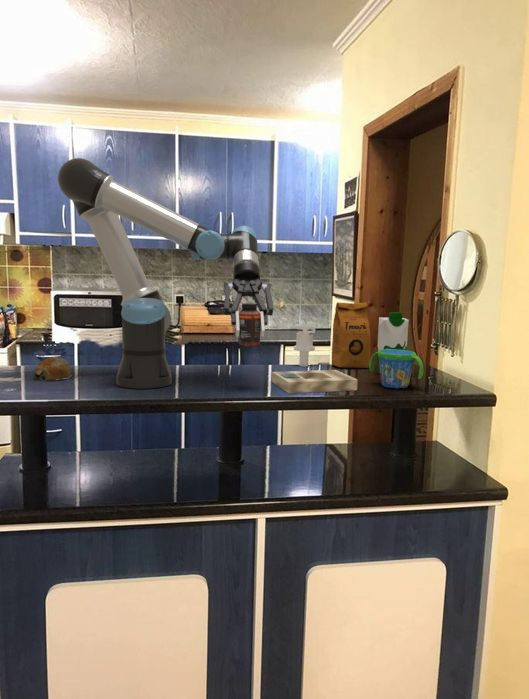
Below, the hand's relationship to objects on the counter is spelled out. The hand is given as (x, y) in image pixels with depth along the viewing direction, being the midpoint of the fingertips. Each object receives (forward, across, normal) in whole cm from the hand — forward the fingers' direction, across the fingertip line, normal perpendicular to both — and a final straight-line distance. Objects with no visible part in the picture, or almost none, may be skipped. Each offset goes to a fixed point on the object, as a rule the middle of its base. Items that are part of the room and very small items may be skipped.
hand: (250, 333), depth 151 cm
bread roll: (-2, +55, -25) cm, 60 cm away
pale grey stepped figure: (-17, -22, -40) cm, 48 cm away
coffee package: (-15, -38, -38) cm, 56 cm away
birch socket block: (+6, -19, -16) cm, 26 cm away
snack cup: (+7, -42, -16) cm, 46 cm away
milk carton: (-6, -47, -28) cm, 55 cm away
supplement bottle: (0, 0, -5) cm, 5 cm away
